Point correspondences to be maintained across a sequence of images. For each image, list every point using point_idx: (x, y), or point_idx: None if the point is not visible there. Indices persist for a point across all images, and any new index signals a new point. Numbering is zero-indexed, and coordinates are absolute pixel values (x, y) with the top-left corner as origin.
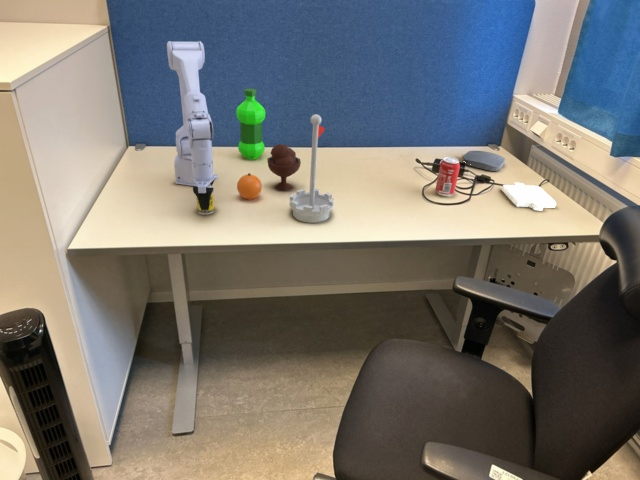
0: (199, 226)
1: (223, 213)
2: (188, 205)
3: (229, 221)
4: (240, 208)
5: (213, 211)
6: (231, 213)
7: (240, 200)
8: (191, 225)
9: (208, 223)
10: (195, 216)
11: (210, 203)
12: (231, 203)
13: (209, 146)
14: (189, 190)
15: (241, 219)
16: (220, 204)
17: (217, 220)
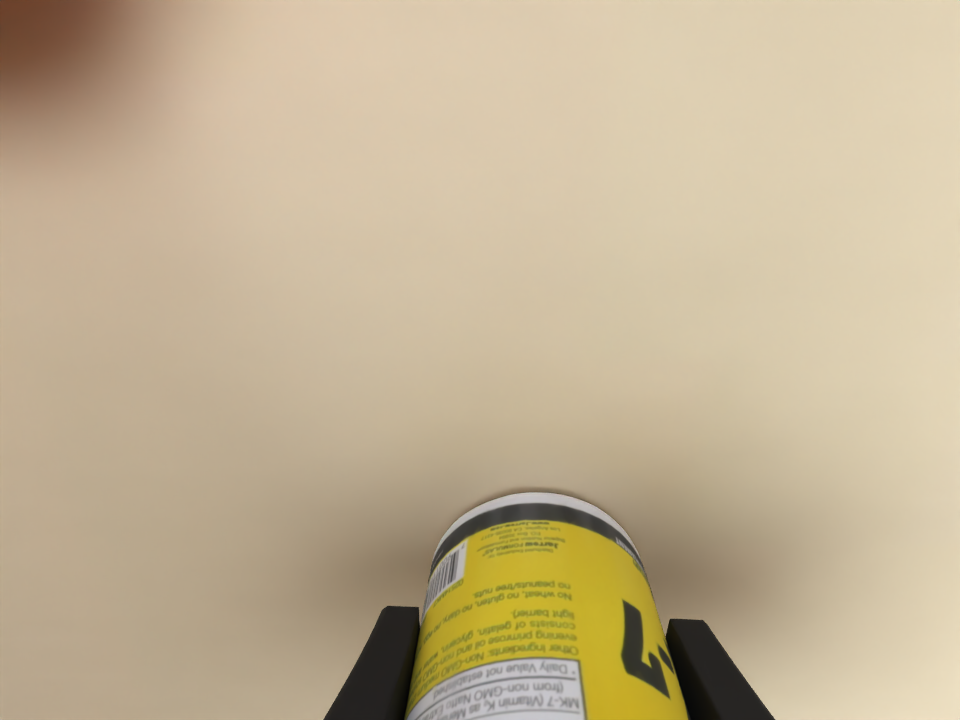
0: (920, 620)
1: (624, 368)
2: None
3: (937, 278)
4: (456, 66)
5: (576, 501)
6: (646, 244)
7: (100, 64)
8: (861, 680)
9: (881, 541)
10: None
11: (662, 669)
12: (260, 244)
13: None
14: (9, 698)
15: (949, 44)
16: (317, 408)
17: (834, 444)
